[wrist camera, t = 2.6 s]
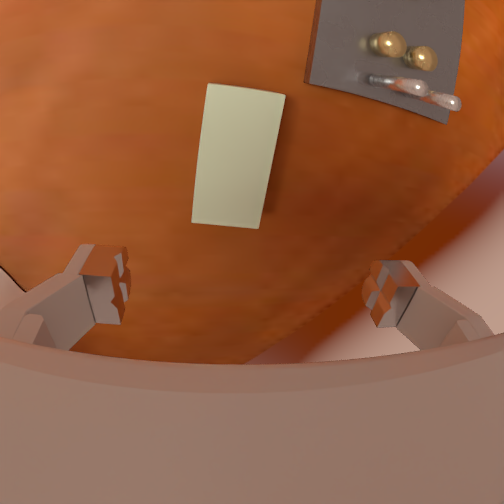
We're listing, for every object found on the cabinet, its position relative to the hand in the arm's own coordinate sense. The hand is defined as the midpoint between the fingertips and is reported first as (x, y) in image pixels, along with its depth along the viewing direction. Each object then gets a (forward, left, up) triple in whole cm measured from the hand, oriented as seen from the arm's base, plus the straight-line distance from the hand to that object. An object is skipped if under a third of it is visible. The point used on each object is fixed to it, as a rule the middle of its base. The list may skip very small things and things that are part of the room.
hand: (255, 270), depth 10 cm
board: (0, 0, -15) cm, 15 cm away
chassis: (+14, -11, -15) cm, 23 cm away
